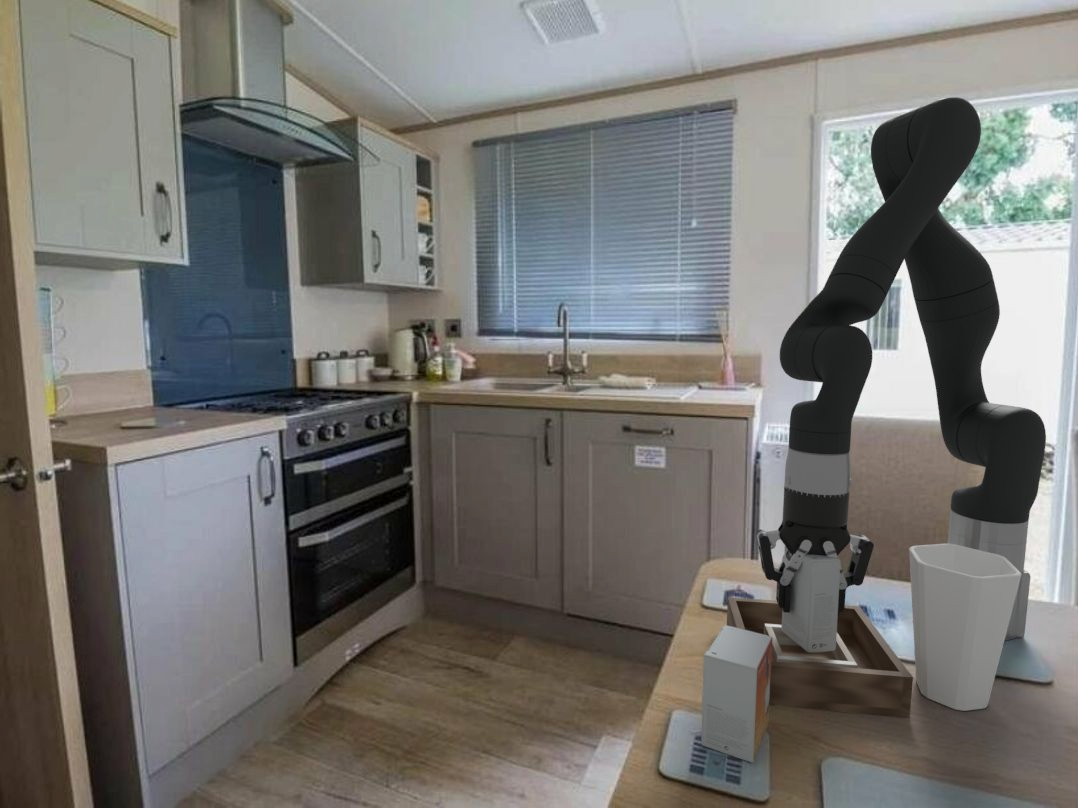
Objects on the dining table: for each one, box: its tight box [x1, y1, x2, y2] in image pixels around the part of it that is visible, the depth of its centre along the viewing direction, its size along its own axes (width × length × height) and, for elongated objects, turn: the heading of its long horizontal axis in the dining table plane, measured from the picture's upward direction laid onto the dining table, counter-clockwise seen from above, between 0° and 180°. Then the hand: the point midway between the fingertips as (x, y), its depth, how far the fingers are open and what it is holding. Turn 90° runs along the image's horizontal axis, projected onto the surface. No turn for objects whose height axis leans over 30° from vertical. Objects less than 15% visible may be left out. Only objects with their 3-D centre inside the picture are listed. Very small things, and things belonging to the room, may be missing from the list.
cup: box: [908, 543, 1022, 712], centre depth 74 cm, size 11×10×17 cm
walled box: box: [726, 596, 914, 719], centre depth 81 cm, size 18×18×5 cm
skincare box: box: [782, 545, 841, 653], centre depth 80 cm, size 6×4×12 cm
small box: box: [700, 624, 773, 764], centre depth 67 cm, size 8×6×10 cm
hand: (809, 611), depth 80 cm, fingers closed on skincare box, 5 cm apart
